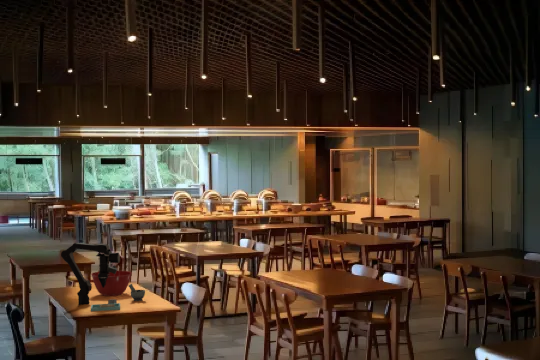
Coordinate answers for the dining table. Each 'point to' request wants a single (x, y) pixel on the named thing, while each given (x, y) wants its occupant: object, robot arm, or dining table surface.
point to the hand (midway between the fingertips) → (104, 286)
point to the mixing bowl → (113, 283)
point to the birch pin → (108, 305)
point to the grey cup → (112, 301)
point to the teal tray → (98, 308)
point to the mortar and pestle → (137, 293)
